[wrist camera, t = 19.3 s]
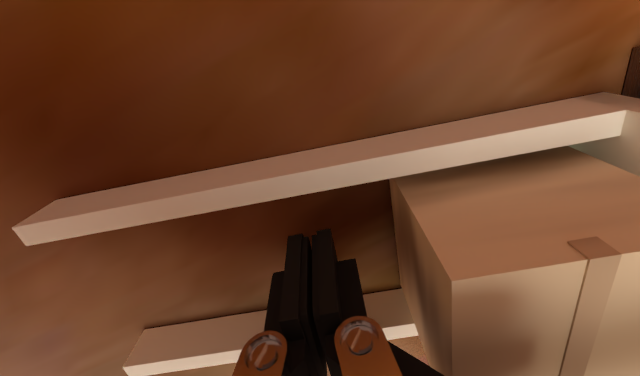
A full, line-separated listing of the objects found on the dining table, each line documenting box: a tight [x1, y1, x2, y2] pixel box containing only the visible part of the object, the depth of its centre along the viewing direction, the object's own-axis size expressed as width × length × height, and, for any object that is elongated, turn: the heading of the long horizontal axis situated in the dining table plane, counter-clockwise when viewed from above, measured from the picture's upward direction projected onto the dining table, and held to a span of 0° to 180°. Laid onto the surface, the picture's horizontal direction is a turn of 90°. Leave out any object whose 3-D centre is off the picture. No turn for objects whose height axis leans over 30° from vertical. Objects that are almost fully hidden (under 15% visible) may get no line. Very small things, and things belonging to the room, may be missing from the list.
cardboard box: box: [389, 146, 640, 376], centre depth 10 cm, size 6×6×6 cm
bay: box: [12, 92, 640, 376], centre depth 12 cm, size 9×21×3 cm, turn 101°
